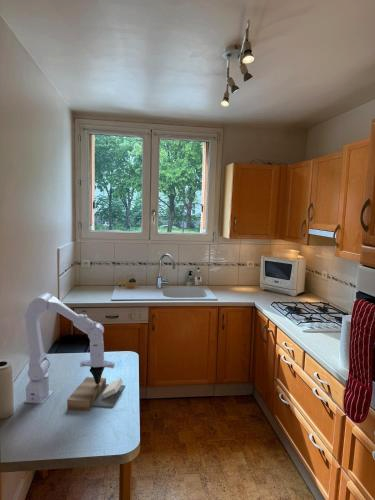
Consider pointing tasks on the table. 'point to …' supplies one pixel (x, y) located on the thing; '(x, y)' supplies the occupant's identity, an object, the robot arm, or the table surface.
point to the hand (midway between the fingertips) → (98, 382)
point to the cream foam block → (112, 388)
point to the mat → (108, 398)
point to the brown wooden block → (85, 394)
